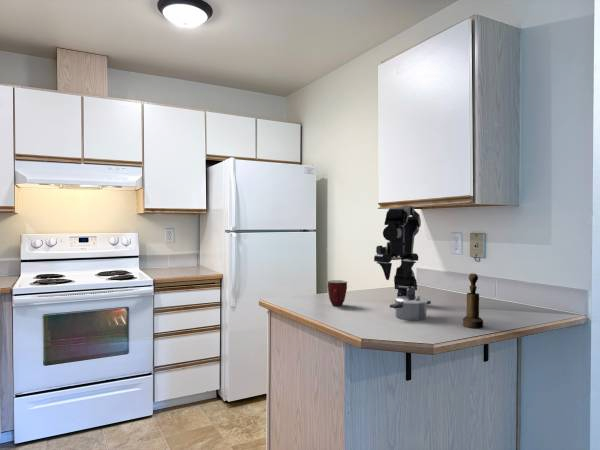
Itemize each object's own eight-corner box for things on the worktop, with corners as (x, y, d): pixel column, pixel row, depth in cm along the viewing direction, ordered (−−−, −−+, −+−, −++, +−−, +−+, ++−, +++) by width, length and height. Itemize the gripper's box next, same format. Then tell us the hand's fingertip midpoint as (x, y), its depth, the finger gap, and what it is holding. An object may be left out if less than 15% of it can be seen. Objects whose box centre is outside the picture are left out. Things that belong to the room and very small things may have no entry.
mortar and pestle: (459, 323, 150) (459, 272, 150) (477, 323, 150) (477, 272, 150) (468, 328, 143) (468, 274, 143) (486, 328, 144) (487, 274, 143)
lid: (410, 297, 167) (410, 284, 167) (434, 302, 157) (434, 288, 157) (388, 299, 161) (388, 286, 161) (411, 305, 151) (411, 291, 151)
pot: (417, 311, 169) (417, 296, 169) (439, 317, 159) (439, 301, 159) (381, 316, 159) (382, 300, 159) (402, 323, 150) (403, 305, 150)
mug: (347, 308, 173) (347, 284, 173) (327, 308, 174) (327, 283, 174) (346, 303, 184) (346, 280, 184) (327, 303, 185) (327, 279, 185)
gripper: (399, 238, 182) (399, 275, 182) (365, 239, 172) (364, 278, 172) (419, 239, 172) (419, 278, 172) (384, 240, 163) (383, 281, 163)
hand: (396, 279), depth 170 cm, fingers open, 9 cm apart
